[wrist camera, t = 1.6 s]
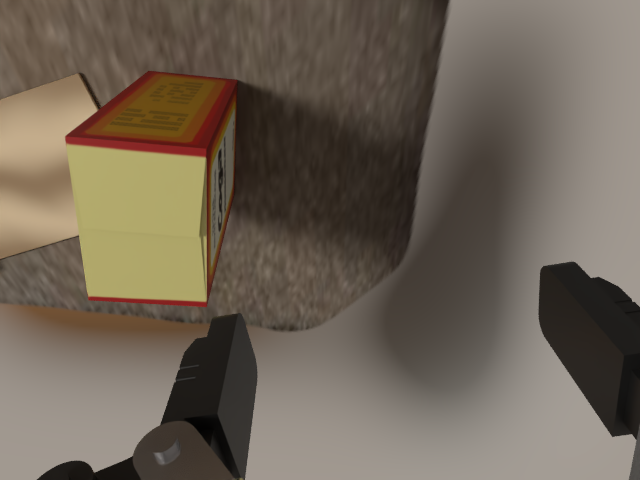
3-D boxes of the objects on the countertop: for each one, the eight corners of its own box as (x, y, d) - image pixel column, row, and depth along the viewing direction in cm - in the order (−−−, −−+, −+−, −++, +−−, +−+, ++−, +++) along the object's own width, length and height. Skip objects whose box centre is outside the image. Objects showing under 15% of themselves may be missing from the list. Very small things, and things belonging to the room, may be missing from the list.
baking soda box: (234, 194, 42) (205, 311, 28) (155, 188, 41) (86, 304, 27) (237, 80, 37) (205, 151, 23) (148, 70, 37) (61, 138, 23)
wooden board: (-121, 140, 38) (-139, 147, 37) (79, 72, 36) (70, 77, 35) (-24, 264, 44) (-36, 275, 42) (152, 211, 42) (147, 221, 41)
